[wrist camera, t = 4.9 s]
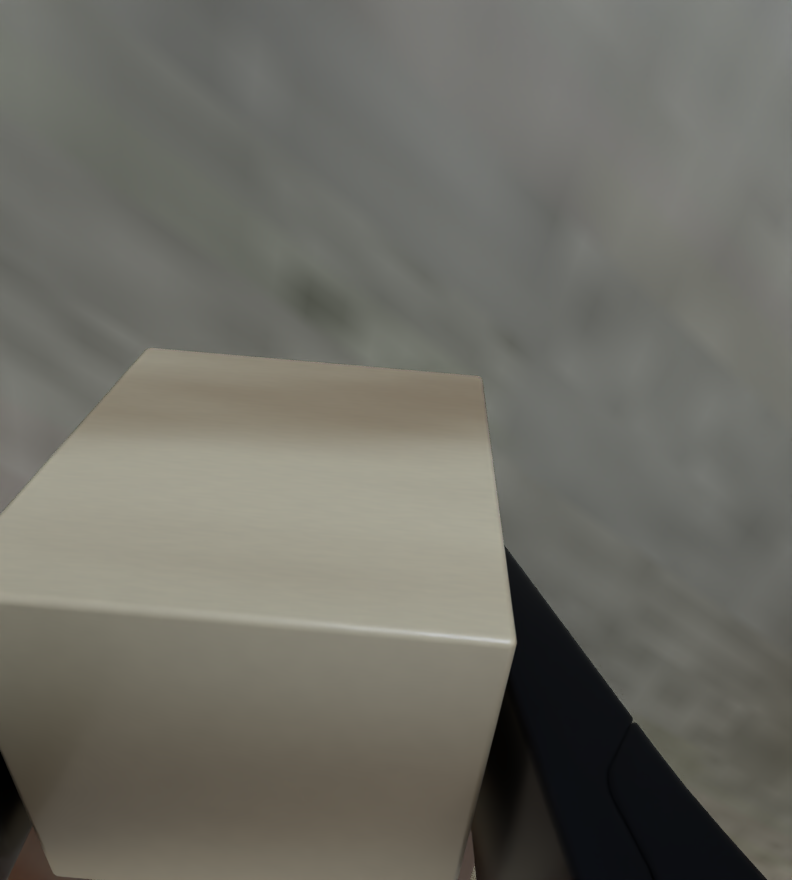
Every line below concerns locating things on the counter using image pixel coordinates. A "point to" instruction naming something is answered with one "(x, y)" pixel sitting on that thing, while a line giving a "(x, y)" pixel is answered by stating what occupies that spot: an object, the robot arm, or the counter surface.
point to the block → (257, 624)
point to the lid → (34, 863)
